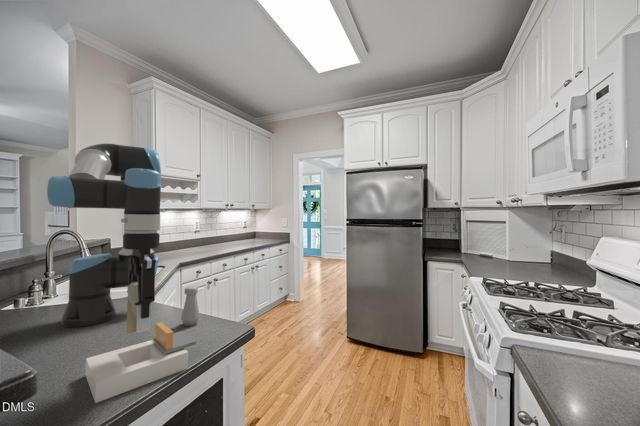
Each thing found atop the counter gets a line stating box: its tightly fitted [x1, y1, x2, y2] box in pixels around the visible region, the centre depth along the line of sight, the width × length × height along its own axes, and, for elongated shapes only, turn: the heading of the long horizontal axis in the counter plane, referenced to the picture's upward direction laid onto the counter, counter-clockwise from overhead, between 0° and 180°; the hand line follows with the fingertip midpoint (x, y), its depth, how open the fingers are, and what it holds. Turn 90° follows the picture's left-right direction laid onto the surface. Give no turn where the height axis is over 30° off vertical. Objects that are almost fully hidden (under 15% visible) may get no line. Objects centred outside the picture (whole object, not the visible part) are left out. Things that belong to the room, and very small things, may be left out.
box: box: [126, 281, 139, 334], centre depth 66 cm, size 5×4×11 cm
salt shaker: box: [180, 285, 200, 327], centre depth 97 cm, size 6×6×13 cm
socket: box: [85, 339, 189, 404], centre depth 66 cm, size 14×18×4 cm
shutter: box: [152, 321, 197, 354], centre depth 72 cm, size 9×8×5 cm
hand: (139, 326), depth 66 cm, fingers closed on box, 6 cm apart
